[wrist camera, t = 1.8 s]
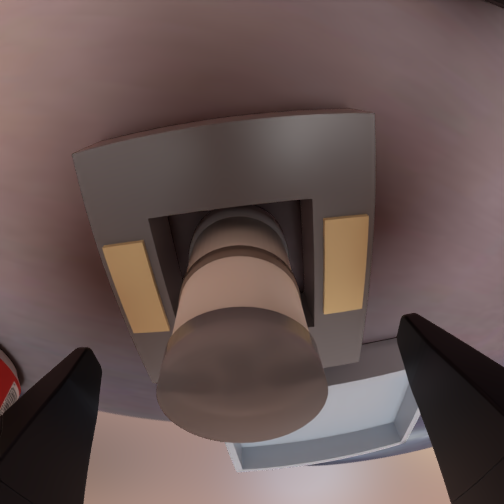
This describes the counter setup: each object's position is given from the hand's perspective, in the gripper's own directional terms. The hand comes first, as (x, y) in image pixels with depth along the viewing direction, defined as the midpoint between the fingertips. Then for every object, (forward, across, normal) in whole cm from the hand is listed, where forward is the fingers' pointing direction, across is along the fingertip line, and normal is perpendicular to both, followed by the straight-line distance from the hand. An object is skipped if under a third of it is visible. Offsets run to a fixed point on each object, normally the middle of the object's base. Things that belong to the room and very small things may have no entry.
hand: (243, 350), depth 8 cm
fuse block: (+6, 0, 0) cm, 6 cm away
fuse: (+6, 0, 0) cm, 6 cm away
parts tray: (+6, -4, +12) cm, 14 cm away
